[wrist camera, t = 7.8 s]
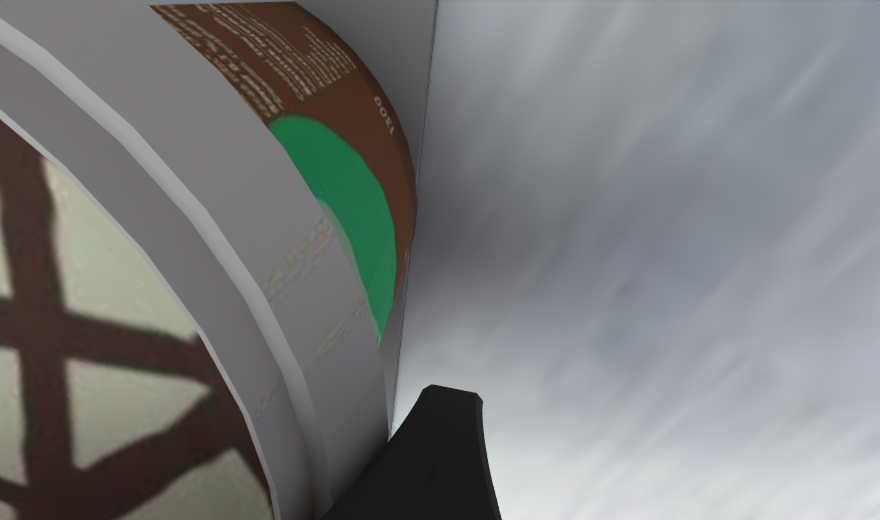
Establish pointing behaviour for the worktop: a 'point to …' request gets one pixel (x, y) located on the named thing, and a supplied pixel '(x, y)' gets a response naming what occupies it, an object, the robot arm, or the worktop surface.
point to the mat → (406, 86)
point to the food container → (192, 260)
